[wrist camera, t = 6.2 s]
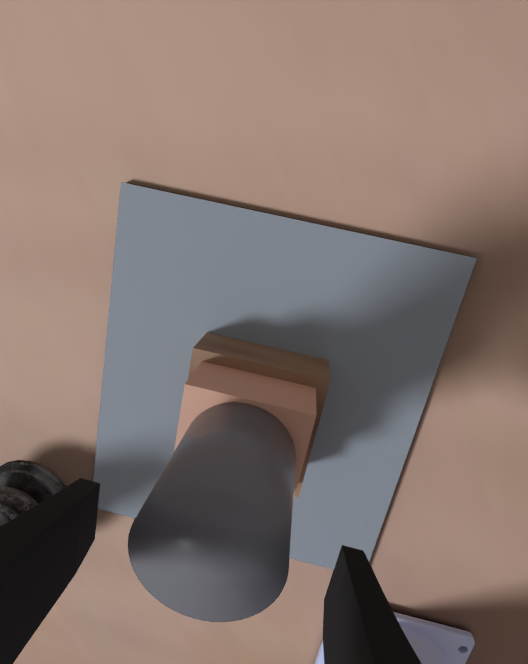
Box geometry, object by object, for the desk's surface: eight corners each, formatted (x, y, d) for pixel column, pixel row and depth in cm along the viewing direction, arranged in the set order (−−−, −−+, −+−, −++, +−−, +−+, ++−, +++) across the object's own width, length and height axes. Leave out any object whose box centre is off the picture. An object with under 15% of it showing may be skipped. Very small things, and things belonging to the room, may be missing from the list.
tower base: (300, 465, 21) (298, 496, 19) (189, 438, 22) (174, 466, 19) (328, 360, 19) (330, 380, 17) (207, 332, 20) (193, 347, 17)
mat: (362, 571, 23) (363, 577, 23) (94, 502, 24) (90, 507, 24) (473, 257, 18) (476, 258, 18) (125, 182, 19) (121, 182, 18)
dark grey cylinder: (280, 514, 16) (267, 639, 11) (175, 486, 16) (119, 596, 12) (308, 419, 15) (307, 514, 10) (193, 389, 15) (139, 469, 10)
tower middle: (290, 485, 19) (286, 524, 16) (185, 459, 19) (167, 494, 17) (315, 387, 17) (316, 415, 15) (201, 361, 18) (184, 384, 15)
